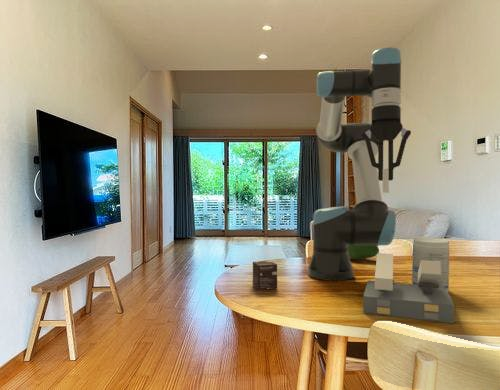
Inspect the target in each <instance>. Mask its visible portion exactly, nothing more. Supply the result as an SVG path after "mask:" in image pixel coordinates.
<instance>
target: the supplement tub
mask: <svg viewBox="0 0 500 390" xmlns="http://www.w3.org/2000/svg"><path fill="white" fill-rule="evenodd" d="M421 260H427V261H440V263H441V275H440V277H439V279H438V281H437V283H439V287H445V288H446V290H447V292H448V293H449V290H450V289H449V287H450V286H449V285H450V283H449V282H450V281H449V280H450V240H447V239H443V238H435V237H434V238H433V237H416V238H414V239H413V243H412V265H411V266H412V271H411V272H412V274H411V275H412V277H411V284H415V285H418V270H419V266H420V262H421Z"/></svg>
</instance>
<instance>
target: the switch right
mask: <svg viewBox="0 0 500 390" xmlns="http://www.w3.org/2000/svg"><path fill="white" fill-rule="evenodd" d="M440 275H441V263H440V261H427V260H421V262H420V266H419V270H418V282H427V283H437V281H438V279H439V277H440Z"/></svg>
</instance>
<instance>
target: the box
mask: <svg viewBox="0 0 500 390" xmlns="http://www.w3.org/2000/svg"><path fill="white" fill-rule="evenodd" d="M253 285H254V286H255V287H254V286H253ZM252 286H253V287H254V288H256V290H258V289H266V290H268V289H267V288H277V289H278V264H277V263H275V262H273V261H272V260H267V261H265V260H263V261H261V260H260V261H252Z"/></svg>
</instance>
